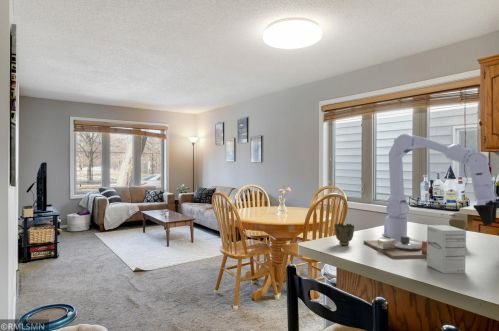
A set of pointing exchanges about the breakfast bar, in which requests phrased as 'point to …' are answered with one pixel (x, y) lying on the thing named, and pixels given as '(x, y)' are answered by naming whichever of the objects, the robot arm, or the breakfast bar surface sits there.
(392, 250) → the board
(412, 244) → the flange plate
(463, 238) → the supplement box
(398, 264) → the breakfast bar surface
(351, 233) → the cup
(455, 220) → the cork
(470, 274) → the breakfast bar surface
